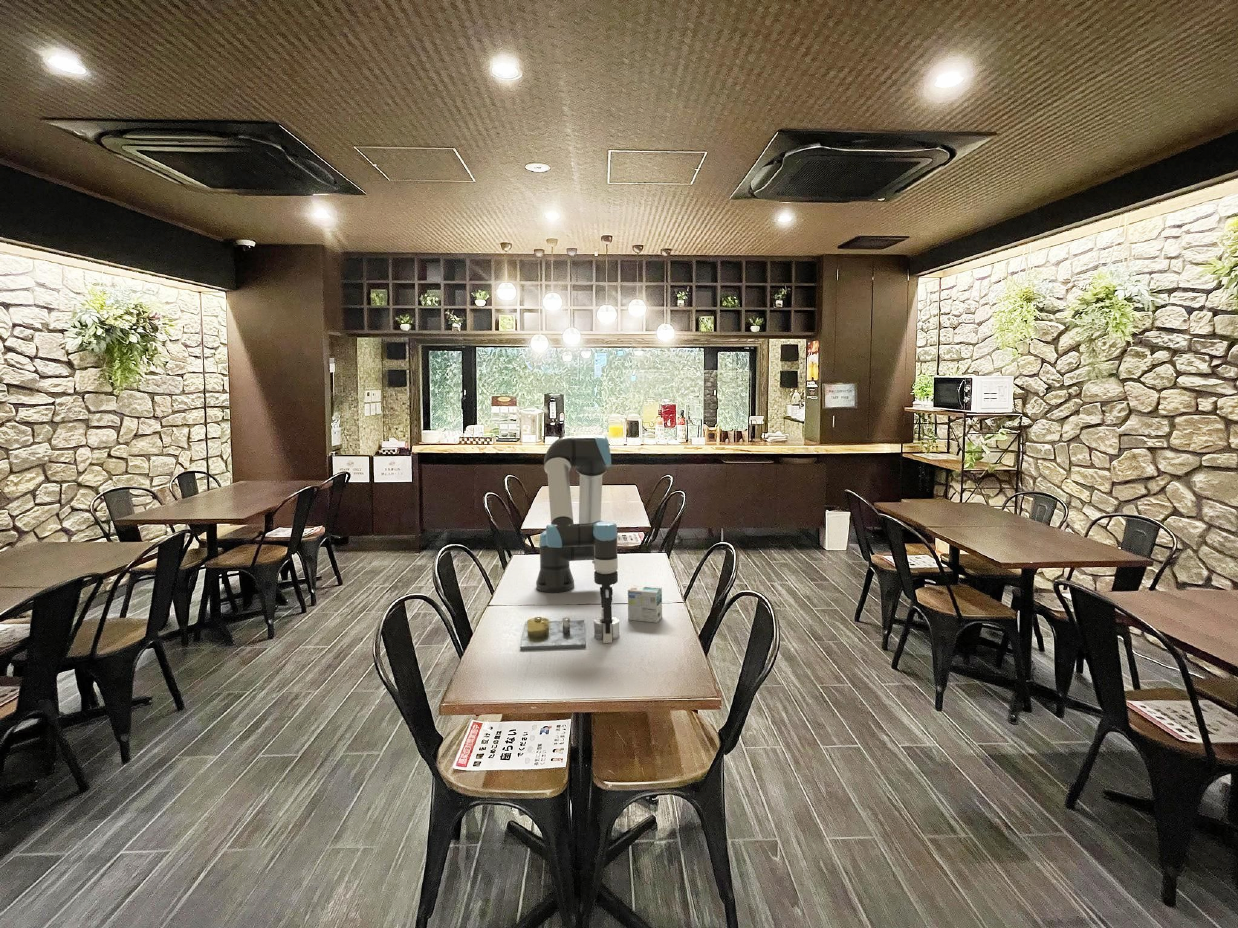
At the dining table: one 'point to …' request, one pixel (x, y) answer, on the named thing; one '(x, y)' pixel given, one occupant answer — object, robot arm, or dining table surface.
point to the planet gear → (599, 628)
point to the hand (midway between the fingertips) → (606, 634)
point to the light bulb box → (645, 603)
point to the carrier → (553, 634)
